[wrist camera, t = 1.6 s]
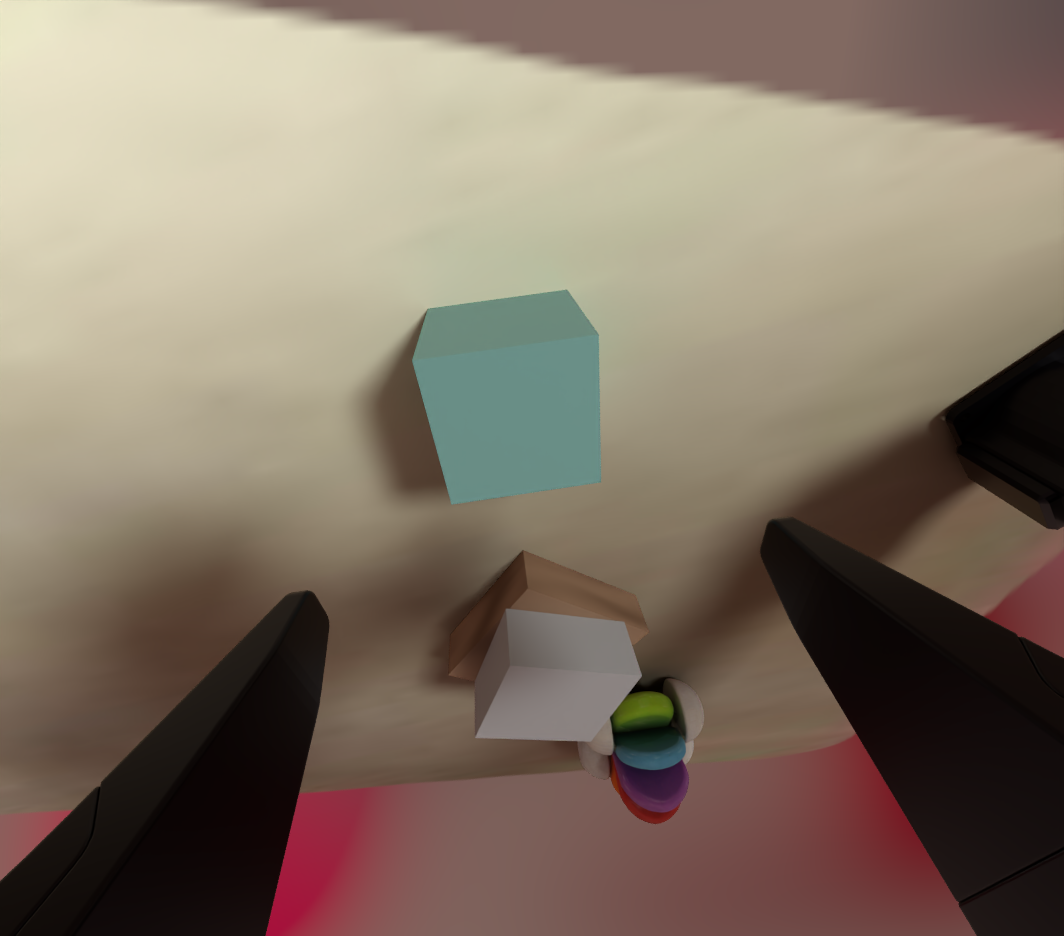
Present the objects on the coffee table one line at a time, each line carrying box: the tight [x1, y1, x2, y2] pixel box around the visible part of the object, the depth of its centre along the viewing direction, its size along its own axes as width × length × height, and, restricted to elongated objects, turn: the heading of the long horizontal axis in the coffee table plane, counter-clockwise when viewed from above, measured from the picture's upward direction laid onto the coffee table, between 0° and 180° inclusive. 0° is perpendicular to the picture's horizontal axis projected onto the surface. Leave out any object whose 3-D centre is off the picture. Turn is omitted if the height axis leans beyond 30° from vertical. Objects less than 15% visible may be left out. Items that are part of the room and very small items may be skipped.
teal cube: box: [412, 290, 601, 504], centre depth 15 cm, size 5×5×5 cm
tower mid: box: [475, 609, 642, 742], centre depth 23 cm, size 6×6×3 cm
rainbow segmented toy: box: [577, 678, 704, 824], centre depth 31 cm, size 8×10×7 cm
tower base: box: [448, 550, 649, 682], centre depth 26 cm, size 8×8×3 cm
